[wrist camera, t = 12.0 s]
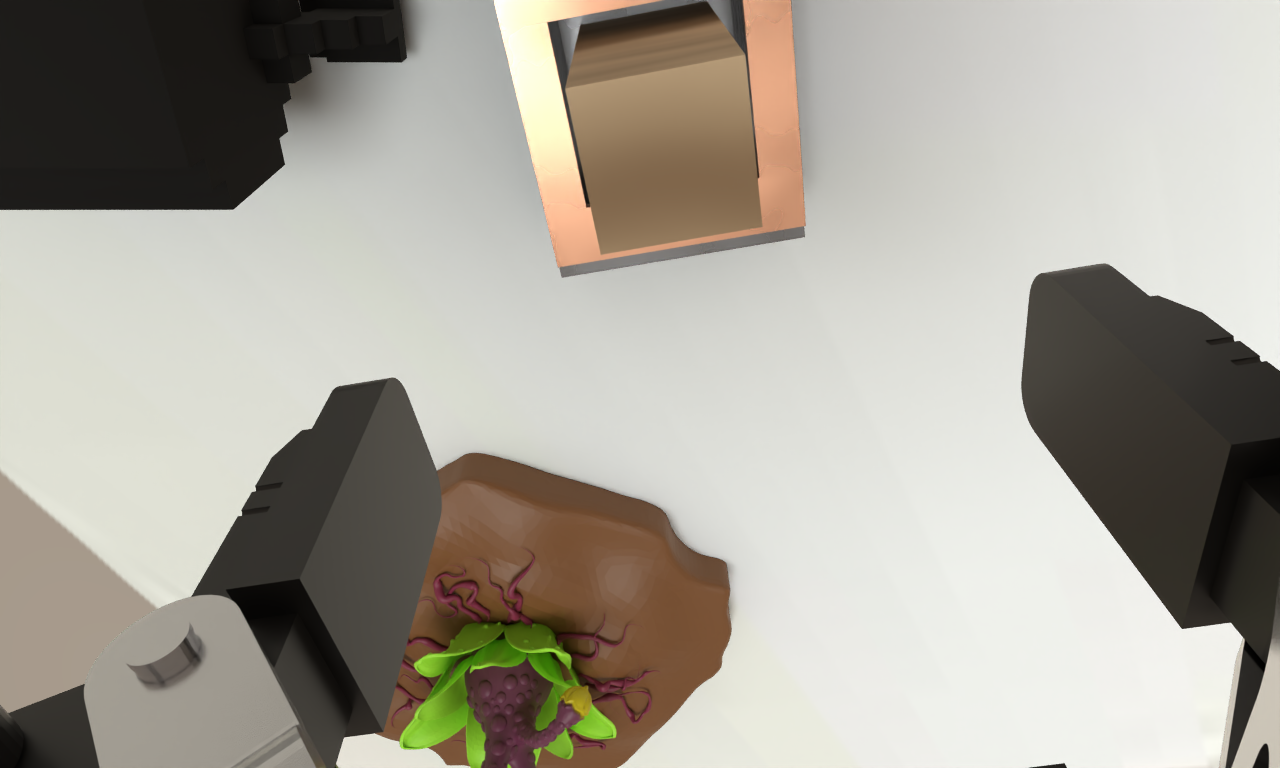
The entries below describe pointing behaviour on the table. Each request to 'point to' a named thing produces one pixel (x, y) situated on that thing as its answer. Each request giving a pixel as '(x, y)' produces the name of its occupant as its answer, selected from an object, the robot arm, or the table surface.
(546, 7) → the rail
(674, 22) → the brown upright block
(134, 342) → the table surface
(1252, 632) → the robot arm
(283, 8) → the security camera
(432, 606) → the plant
